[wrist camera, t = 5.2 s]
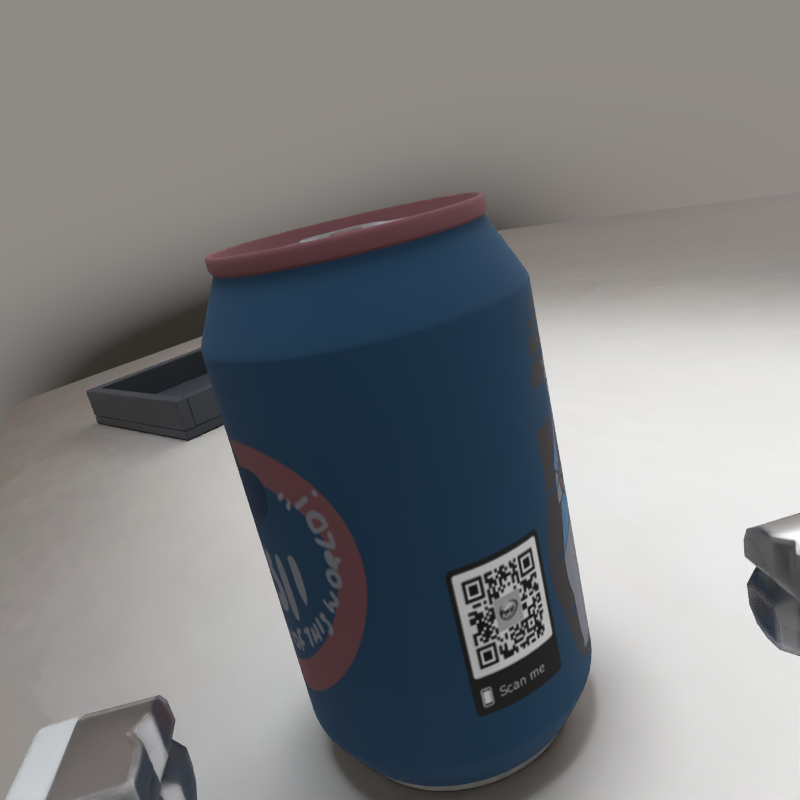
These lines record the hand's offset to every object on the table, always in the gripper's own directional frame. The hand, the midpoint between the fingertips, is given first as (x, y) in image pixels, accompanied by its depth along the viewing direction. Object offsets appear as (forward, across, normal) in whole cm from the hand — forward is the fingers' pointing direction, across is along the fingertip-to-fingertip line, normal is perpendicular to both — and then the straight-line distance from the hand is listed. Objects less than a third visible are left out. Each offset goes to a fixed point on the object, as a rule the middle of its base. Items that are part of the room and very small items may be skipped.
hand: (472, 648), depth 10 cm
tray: (+45, +10, +7) cm, 46 cm away
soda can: (+7, 0, +7) cm, 10 cm away
